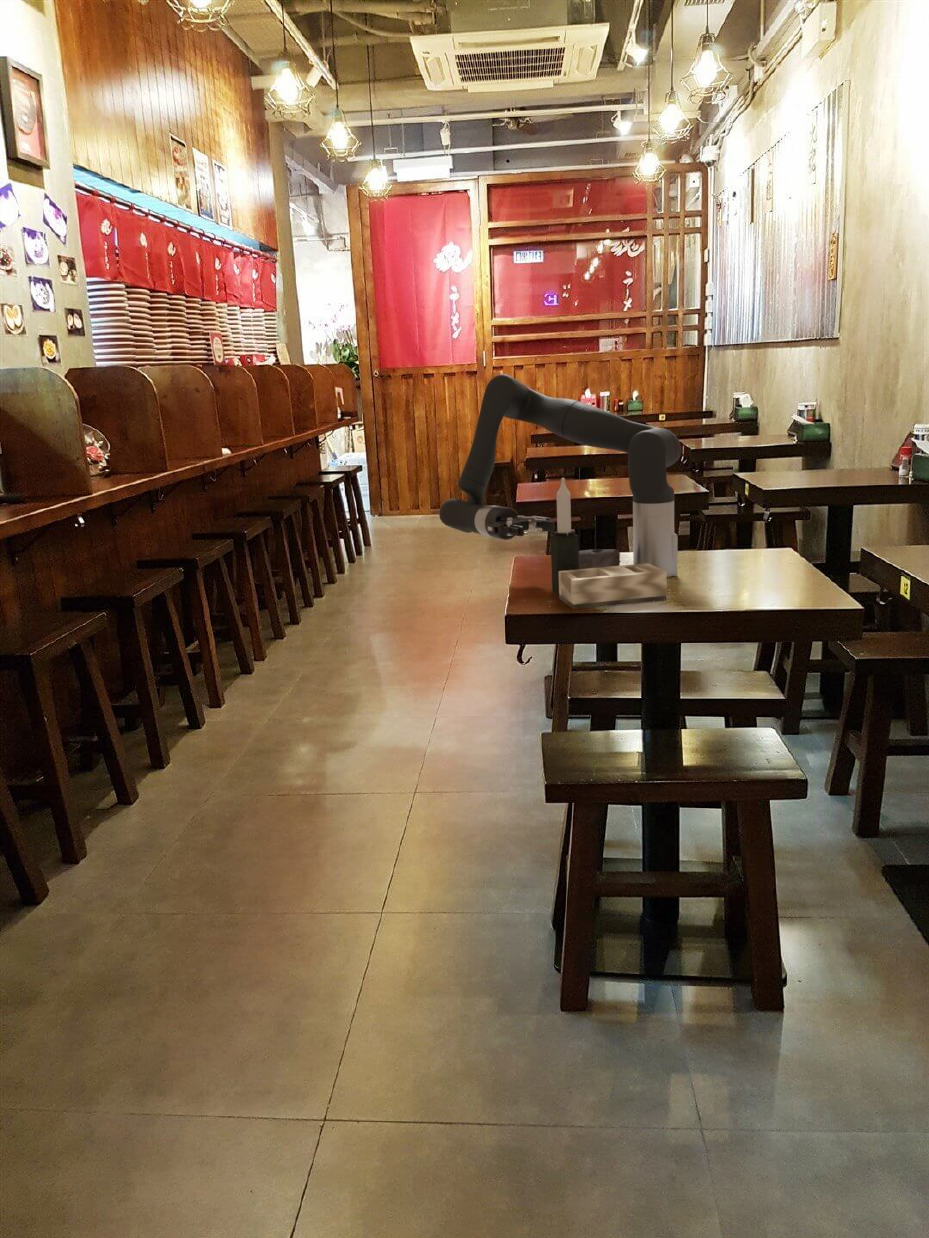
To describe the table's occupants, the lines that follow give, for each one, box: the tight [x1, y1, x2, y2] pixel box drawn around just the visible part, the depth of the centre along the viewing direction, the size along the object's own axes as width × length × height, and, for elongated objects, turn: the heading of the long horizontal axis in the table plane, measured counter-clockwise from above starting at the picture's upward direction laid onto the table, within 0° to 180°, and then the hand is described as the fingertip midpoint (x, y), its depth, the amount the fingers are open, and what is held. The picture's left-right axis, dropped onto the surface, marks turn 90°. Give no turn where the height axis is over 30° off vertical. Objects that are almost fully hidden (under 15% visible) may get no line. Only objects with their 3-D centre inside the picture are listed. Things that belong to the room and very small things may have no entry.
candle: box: [550, 477, 580, 597], centre depth 207 cm, size 5×5×25 cm
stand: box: [558, 563, 668, 610], centre depth 201 cm, size 20×10×6 cm, turn 101°
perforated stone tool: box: [579, 548, 621, 569], centre depth 223 cm, size 15×5×7 cm, turn 75°
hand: (538, 529), depth 215 cm, fingers open, 8 cm apart
